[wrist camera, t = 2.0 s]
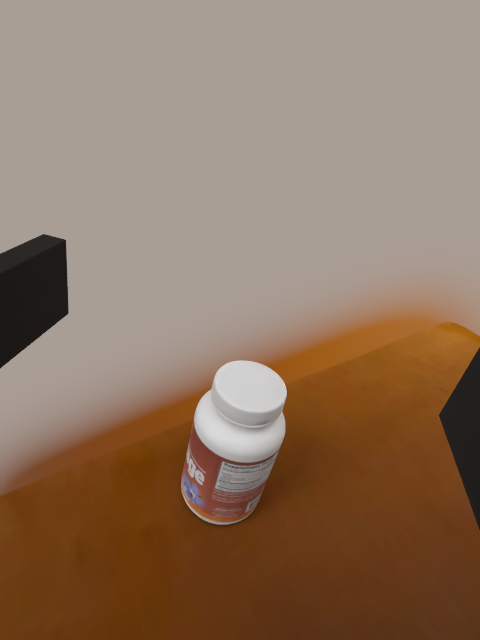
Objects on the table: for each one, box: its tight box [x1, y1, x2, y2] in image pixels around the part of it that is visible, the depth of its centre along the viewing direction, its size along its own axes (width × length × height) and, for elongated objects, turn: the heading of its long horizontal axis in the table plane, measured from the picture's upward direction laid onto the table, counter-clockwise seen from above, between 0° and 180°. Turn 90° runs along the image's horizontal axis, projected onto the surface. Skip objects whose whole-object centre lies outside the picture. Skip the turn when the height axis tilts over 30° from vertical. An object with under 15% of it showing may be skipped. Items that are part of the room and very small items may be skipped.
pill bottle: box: [181, 360, 287, 525], centre depth 28 cm, size 6×6×11 cm
